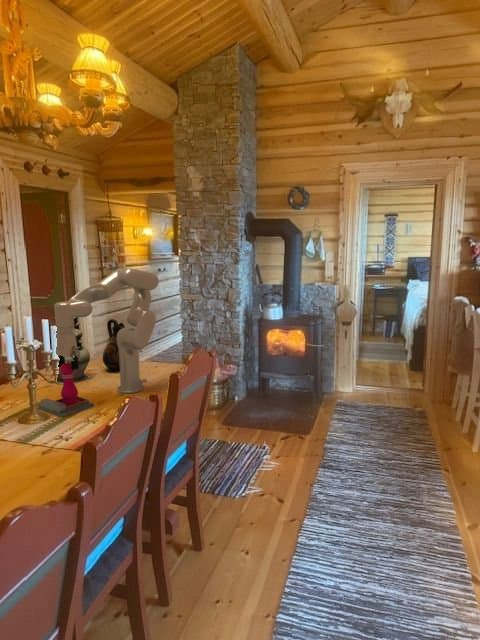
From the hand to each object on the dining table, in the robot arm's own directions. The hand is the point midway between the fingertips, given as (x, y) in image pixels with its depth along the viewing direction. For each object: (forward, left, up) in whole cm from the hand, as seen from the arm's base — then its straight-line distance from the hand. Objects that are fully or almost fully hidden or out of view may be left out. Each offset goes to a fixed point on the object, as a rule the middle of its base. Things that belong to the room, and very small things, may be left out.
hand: (68, 367), depth 201 cm
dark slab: (+2, 0, -18) cm, 18 cm away
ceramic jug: (-53, -32, -18) cm, 64 cm away
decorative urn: (-27, -38, -18) cm, 50 cm away
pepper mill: (0, 0, -17) cm, 17 cm away
